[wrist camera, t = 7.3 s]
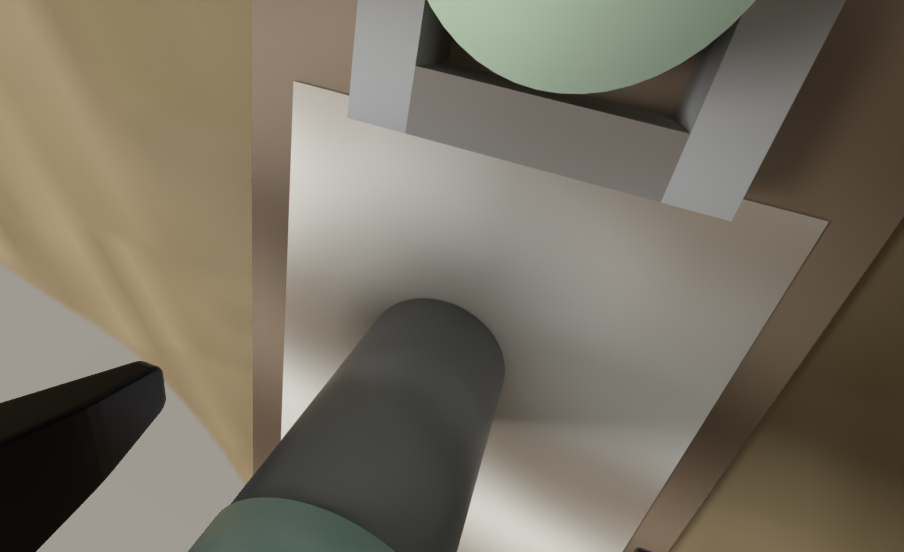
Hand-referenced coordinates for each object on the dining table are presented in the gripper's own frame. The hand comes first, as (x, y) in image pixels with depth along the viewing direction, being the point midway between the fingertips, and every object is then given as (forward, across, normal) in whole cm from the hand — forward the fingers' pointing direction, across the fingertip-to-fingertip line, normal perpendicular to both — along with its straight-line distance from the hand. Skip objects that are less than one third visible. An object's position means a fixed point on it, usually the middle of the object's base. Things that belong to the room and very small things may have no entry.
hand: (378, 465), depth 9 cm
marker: (+3, 0, 0) cm, 3 cm away
